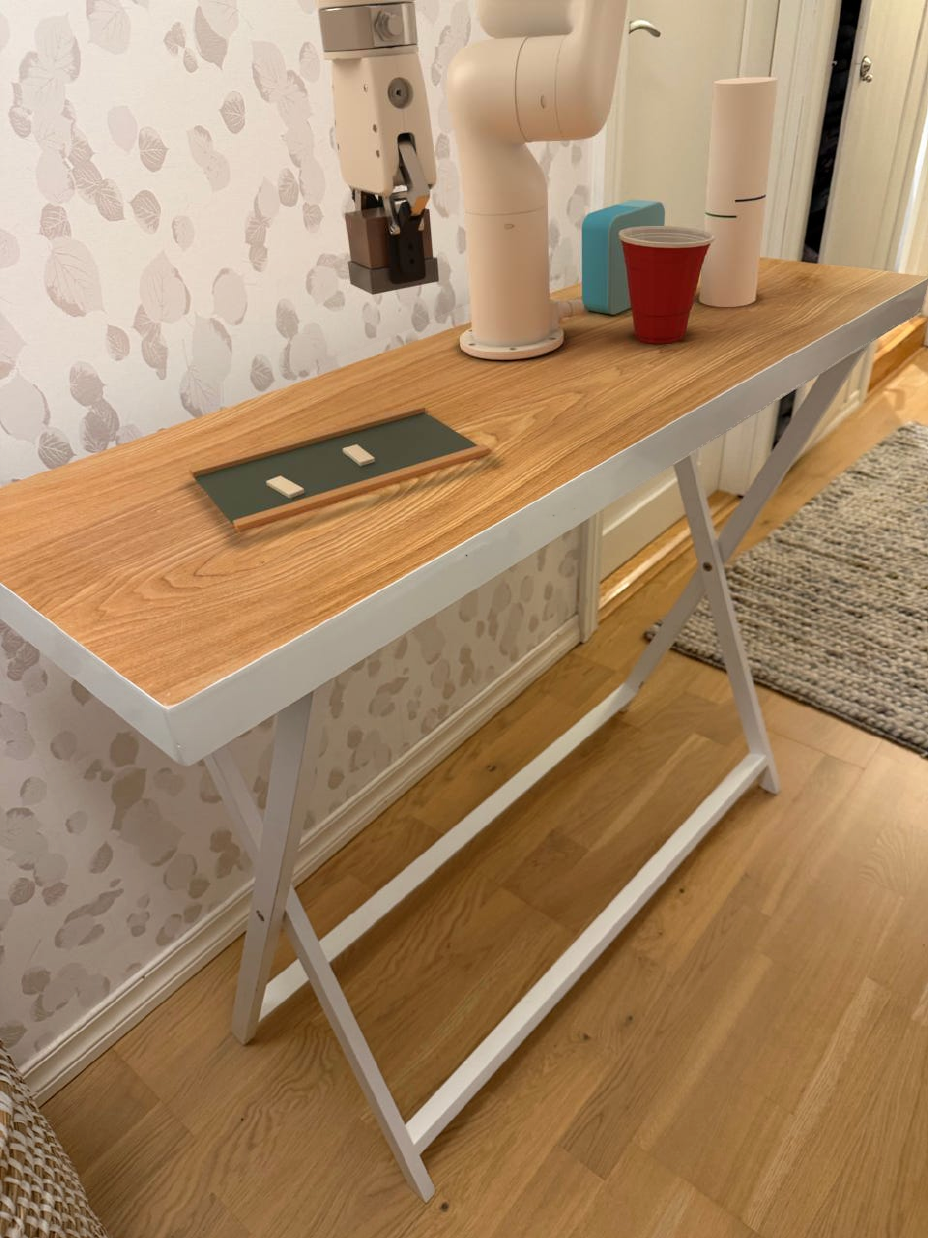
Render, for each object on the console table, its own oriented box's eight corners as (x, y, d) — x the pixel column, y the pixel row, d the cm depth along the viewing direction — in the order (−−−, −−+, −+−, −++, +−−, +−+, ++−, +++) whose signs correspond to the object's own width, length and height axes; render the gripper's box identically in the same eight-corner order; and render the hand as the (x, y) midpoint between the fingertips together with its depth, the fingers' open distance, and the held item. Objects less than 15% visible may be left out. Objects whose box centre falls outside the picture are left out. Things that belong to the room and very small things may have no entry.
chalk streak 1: (281, 479, 83) (280, 475, 82) (305, 492, 80) (304, 488, 80) (266, 485, 82) (265, 480, 82) (290, 498, 79) (289, 494, 79)
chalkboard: (420, 419, 95) (418, 403, 94) (491, 464, 85) (490, 447, 84) (193, 484, 86) (188, 467, 85) (241, 544, 76) (236, 525, 75)
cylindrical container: (761, 304, 119) (785, 80, 105) (705, 308, 119) (721, 85, 105) (748, 289, 125) (769, 75, 111) (694, 293, 125) (708, 80, 111)
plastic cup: (726, 340, 108) (735, 231, 102) (644, 356, 106) (648, 246, 99) (677, 317, 117) (682, 215, 110) (600, 332, 114) (601, 228, 108)
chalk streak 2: (357, 447, 87) (356, 443, 87) (375, 461, 84) (375, 457, 84) (342, 452, 87) (342, 448, 86) (360, 466, 84) (360, 462, 84)
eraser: (350, 284, 83) (340, 212, 80) (414, 271, 86) (408, 201, 83) (372, 294, 80) (363, 220, 76) (439, 281, 82) (433, 208, 79)
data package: (634, 290, 128) (637, 196, 122) (662, 294, 126) (666, 199, 119) (580, 312, 121) (580, 215, 115) (608, 318, 119) (610, 218, 112)
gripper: (463, 27, 67) (478, 285, 77) (369, 32, 80) (392, 253, 90) (369, 36, 65) (397, 302, 75) (287, 39, 77) (320, 266, 87)
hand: (394, 273), depth 82 cm, fingers closed on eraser, 5 cm apart
